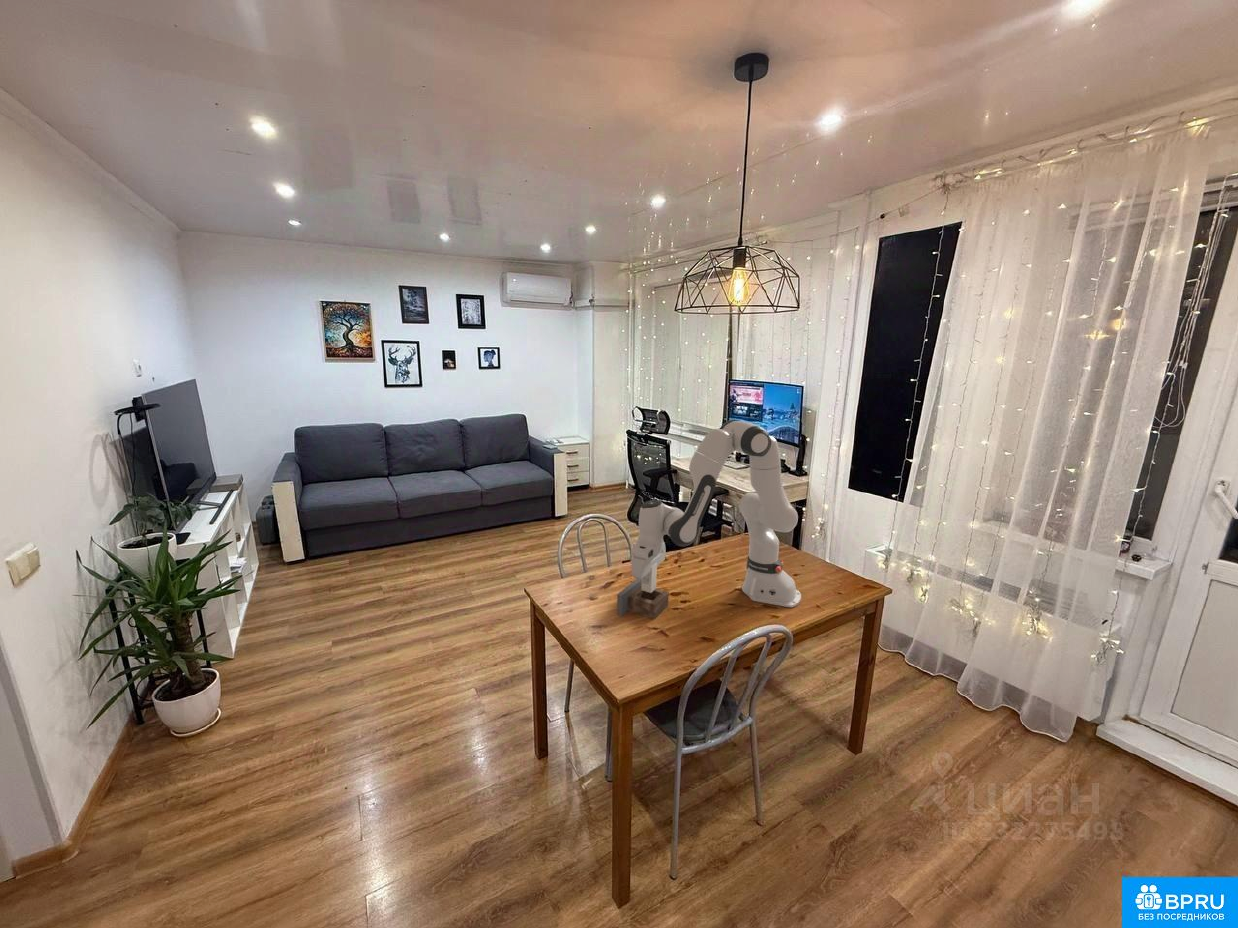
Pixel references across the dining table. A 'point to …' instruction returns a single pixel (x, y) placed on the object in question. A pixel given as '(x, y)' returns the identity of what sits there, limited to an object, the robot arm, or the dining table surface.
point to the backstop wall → (626, 596)
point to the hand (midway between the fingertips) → (648, 580)
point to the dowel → (651, 580)
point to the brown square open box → (648, 602)
